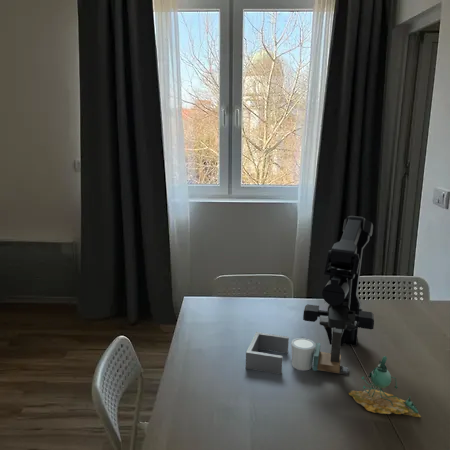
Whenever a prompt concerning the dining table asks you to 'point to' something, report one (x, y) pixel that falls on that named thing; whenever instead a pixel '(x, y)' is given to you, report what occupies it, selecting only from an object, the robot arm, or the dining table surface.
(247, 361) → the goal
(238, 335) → the dining table surface
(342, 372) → the rail
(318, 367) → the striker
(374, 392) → the gold and teal figure
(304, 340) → the white cylinder
